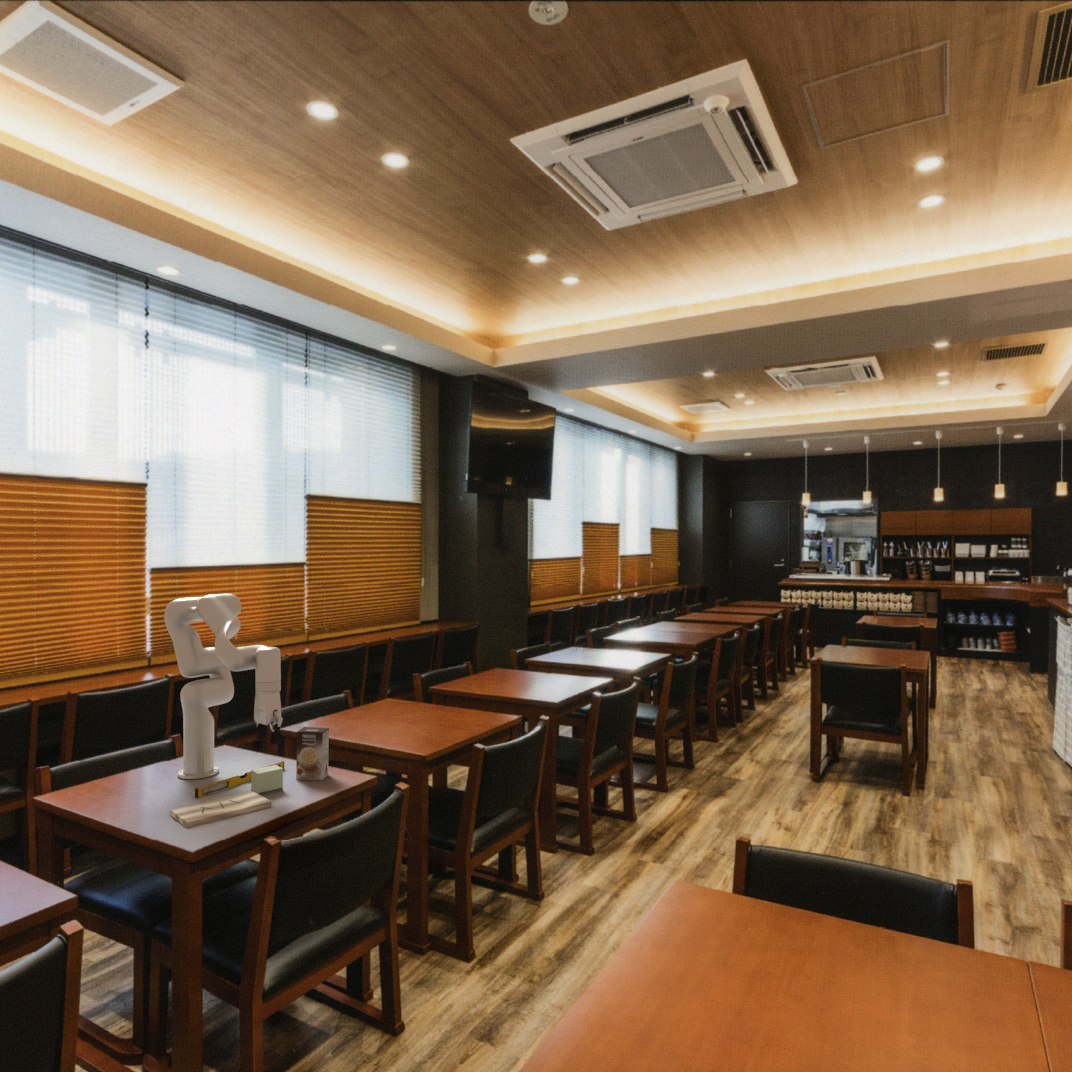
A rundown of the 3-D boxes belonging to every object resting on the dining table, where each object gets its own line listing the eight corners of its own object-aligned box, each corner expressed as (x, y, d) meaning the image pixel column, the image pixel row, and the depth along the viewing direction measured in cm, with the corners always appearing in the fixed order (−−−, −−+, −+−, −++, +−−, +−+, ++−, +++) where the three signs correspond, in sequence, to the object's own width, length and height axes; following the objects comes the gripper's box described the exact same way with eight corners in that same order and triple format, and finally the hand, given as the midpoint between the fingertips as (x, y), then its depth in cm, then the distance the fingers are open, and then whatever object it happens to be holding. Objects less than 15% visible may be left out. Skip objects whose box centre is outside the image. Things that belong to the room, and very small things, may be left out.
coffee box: (295, 779, 243) (295, 731, 243) (303, 774, 249) (303, 726, 250) (321, 780, 242) (322, 732, 242) (329, 774, 249) (329, 727, 249)
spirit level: (281, 769, 255) (281, 761, 255) (284, 770, 254) (284, 761, 255) (194, 798, 226) (194, 788, 226) (197, 798, 226) (197, 789, 226)
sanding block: (251, 792, 231) (251, 770, 231) (275, 786, 236) (275, 764, 236) (258, 796, 227) (258, 773, 227) (282, 790, 233) (282, 768, 233)
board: (170, 815, 211) (170, 809, 211) (252, 795, 228) (252, 790, 228) (186, 827, 201) (186, 822, 201) (271, 806, 218) (271, 801, 218)
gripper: (245, 685, 236) (245, 738, 235) (268, 691, 223) (269, 748, 223) (267, 681, 241) (268, 734, 241) (292, 688, 229) (292, 743, 228)
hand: (268, 741), depth 232 cm, fingers open, 9 cm apart
